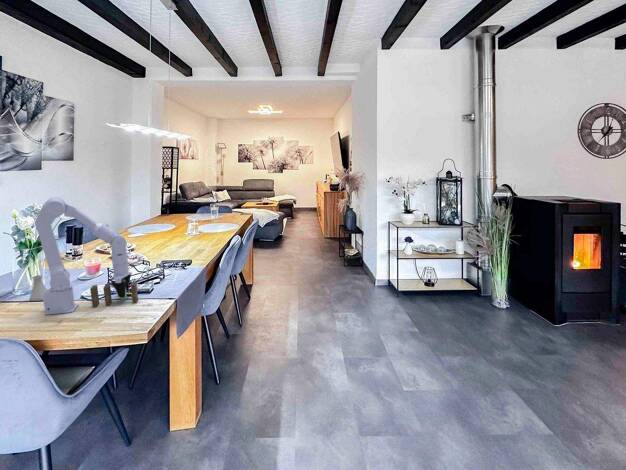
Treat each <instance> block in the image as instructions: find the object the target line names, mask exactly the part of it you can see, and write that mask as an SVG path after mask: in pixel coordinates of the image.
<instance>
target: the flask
mask: <svg viewBox="0 0 626 470" xmlns="http://www.w3.org/2000/svg"><path fill="white" fill-rule="evenodd" d="M42 277H43V276H42V274H41V275H39V274H37V275H33V276H32V277H31V278H32V279H33V285H32V289H31V292H30V296H29V301H32V302H42V301H43V294H44V291H45V290H48V289H47V288H46V286H45V284H44V283H43V280H42V279H43V278H42Z"/></svg>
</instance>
